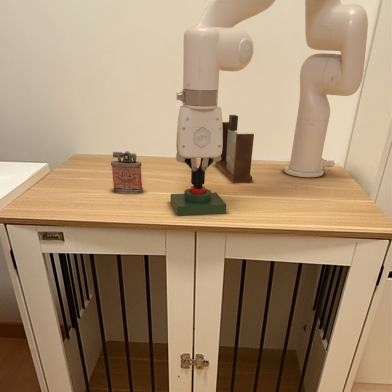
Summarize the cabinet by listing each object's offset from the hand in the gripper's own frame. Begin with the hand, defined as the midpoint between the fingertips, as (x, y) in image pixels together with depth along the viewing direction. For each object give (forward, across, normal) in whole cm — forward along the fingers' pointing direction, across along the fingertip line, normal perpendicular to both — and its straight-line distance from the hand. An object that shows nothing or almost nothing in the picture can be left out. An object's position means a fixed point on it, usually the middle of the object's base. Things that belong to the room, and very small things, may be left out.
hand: (197, 187), depth 99 cm
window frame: (+5, +19, +32) cm, 38 cm away
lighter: (+5, -16, +16) cm, 23 cm away
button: (+2, 0, 0) cm, 2 cm away
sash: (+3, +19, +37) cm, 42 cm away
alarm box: (+5, 0, 0) cm, 5 cm away
